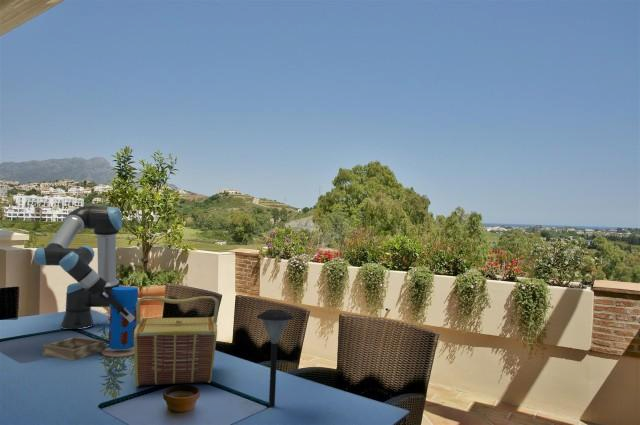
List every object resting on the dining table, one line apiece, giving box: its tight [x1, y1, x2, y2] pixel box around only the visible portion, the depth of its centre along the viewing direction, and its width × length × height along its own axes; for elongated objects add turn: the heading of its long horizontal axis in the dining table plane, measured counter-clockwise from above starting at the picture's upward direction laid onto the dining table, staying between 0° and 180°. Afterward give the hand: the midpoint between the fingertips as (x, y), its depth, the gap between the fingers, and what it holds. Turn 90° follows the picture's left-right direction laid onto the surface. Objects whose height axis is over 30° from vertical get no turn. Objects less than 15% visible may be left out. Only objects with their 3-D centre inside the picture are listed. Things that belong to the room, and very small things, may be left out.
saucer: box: [101, 347, 134, 358], centre depth 201 cm, size 16×16×1 cm
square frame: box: [42, 336, 106, 361], centre depth 197 cm, size 16×16×4 cm
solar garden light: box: [256, 309, 296, 408], centre depth 148 cm, size 12×12×30 cm
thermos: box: [108, 286, 139, 349], centre depth 201 cm, size 11×11×25 cm
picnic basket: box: [133, 295, 220, 388], centre depth 170 cm, size 29×26×30 cm
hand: (130, 317), depth 203 cm, fingers closed on thermos, 11 cm apart
